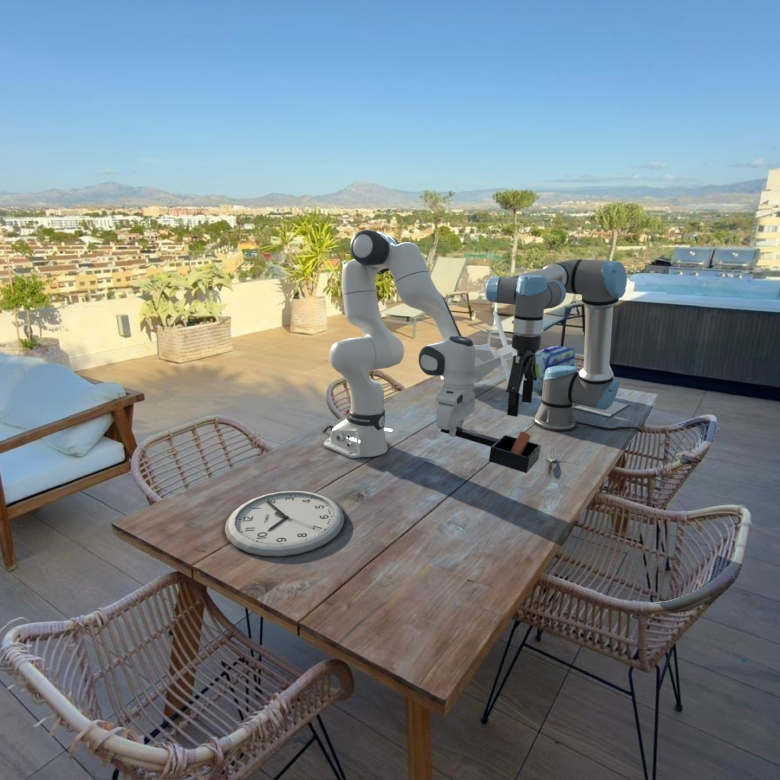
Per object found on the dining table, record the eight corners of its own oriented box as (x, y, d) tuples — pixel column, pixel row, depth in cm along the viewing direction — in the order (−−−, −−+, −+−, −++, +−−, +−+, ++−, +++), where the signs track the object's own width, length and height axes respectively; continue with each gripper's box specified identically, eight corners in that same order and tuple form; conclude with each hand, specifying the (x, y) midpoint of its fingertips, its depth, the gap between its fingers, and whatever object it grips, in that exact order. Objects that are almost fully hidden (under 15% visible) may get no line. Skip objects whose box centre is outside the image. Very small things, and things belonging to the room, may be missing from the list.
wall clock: (344, 547, 121) (211, 552, 118) (344, 554, 121) (212, 558, 119) (344, 486, 149) (237, 489, 147) (344, 491, 150) (237, 494, 147)
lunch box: (546, 399, 235) (551, 353, 228) (525, 393, 242) (530, 349, 236) (574, 387, 252) (579, 345, 246) (553, 383, 260) (558, 341, 253)
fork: (544, 474, 162) (545, 469, 162) (548, 455, 177) (548, 449, 176) (553, 476, 161) (554, 470, 161) (556, 456, 176) (557, 450, 175)
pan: (538, 459, 154) (541, 445, 152) (526, 473, 145) (529, 458, 143) (449, 432, 168) (450, 419, 166) (433, 443, 159) (434, 430, 157)
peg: (510, 454, 154) (520, 434, 155) (520, 459, 152) (530, 438, 154) (509, 450, 151) (520, 430, 153) (519, 455, 149) (530, 434, 151)
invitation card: (608, 416, 214) (573, 407, 224) (608, 416, 214) (573, 408, 224) (628, 404, 229) (594, 396, 238) (628, 405, 229) (594, 397, 238)
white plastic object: (461, 429, 252) (437, 405, 227) (444, 352, 274) (420, 323, 250) (535, 404, 240) (518, 377, 215) (510, 326, 262) (492, 293, 237)
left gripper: (462, 381, 166) (460, 421, 170) (433, 397, 149) (431, 442, 154) (481, 384, 163) (478, 425, 167) (453, 401, 146) (450, 447, 150)
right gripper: (526, 325, 153) (519, 394, 159) (498, 340, 132) (492, 419, 138) (552, 328, 149) (544, 399, 156) (527, 344, 129) (519, 424, 135)
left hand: (455, 434), depth 160 cm, fingers closed on pan, 2 cm apart
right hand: (519, 408), depth 147 cm, fingers open, 13 cm apart
